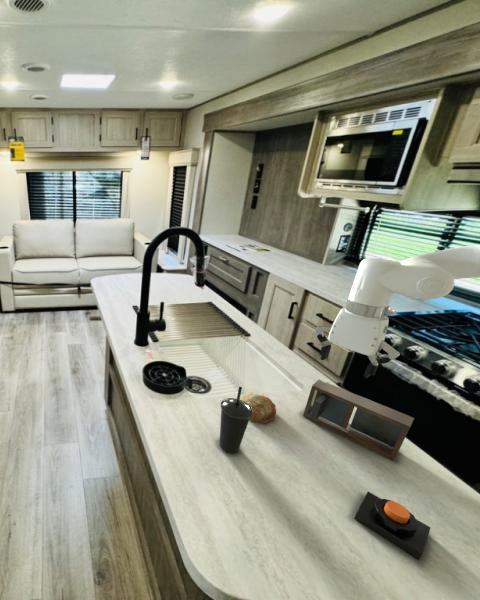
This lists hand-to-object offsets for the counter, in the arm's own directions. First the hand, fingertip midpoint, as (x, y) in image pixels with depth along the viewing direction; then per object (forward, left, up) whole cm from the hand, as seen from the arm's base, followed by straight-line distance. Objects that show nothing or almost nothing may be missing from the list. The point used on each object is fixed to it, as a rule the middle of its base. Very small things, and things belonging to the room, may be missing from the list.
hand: (344, 366), depth 83 cm
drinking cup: (+13, +27, -22) cm, 38 cm away
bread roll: (+15, +7, -22) cm, 28 cm away
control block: (-19, +20, -22) cm, 35 cm away
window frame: (-5, -5, -22) cm, 23 cm away
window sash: (0, -1, -20) cm, 20 cm away
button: (-19, +20, -18) cm, 33 cm away
